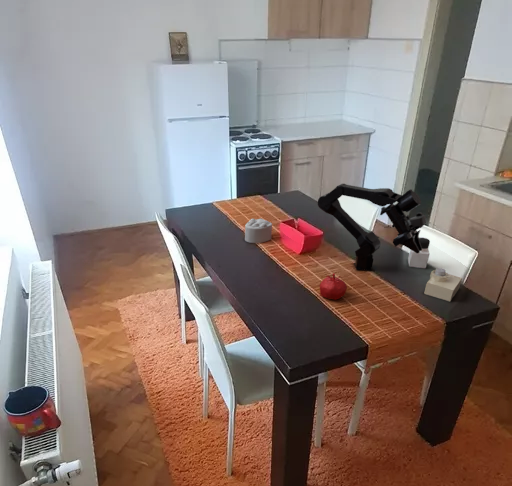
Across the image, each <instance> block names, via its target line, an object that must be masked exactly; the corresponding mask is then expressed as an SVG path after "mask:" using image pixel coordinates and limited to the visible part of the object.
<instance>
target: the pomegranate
mask: <svg viewBox="0 0 512 486" xmlns="http://www.w3.org/2000/svg"><path fill="white" fill-rule="evenodd" d="M331 275H332V276H330V275H325V278H323V279H322V280H321V282H320V283H319V294H320V295H321V297H323V298H325V299H329V300H335V301H336V300H339V299H341V298H343V297H344V296H345V294H346V292H347V289H348V285H347V283H346V282H345V281H344V280H343V279H340V276H337V277H336V273H333V272H332V274H331Z"/></svg>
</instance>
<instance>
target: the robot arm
mask: <svg viewBox="0 0 512 486" xmlns="http://www.w3.org/2000/svg"><path fill="white" fill-rule="evenodd" d="M342 196H345V197H349V198H355V199H359V200H365V201H368V202H370V203H371V204H374V205H376V206H379V207H380V209H381V210H380V213H379V215H380V216H383V215H384V214H386V216H387V217H388V219H389V220H390V222H391V223H392V225H391V227H392V228H395V230H396V231H397V236H395V237H394V238H393V240H392V244H393V245H394V247H398V246H399V245H400V246H404V247H406V248H407V249H409V250H410V249H411V250H412V251H414V252H416V253H419V252H420V251H421V250H422V247H421V244H420V240H419V237H420V233H421V228H423V227H424V226H425V225H426V224H427V220H426V219H427V216H426V215H425V214H424V213H423V212H417V213H416V215H415V216H413V217H411V216H410V215H408V214H407V215H406V214H405V213H409V212H410V211H412V210H414V209H415V208H417V207H418V206H420V205H422V200H421V198H420V195H419V194H417V192H415V191H413V189H412V188H410V189H408V190H407V191H406V192H405V193H404V194H399V193H397V192H395V191H393V190H392V189H391V188H389V187H388V188H387V187H385V188H384V187H383V188H381V187H379V188H367V187H362V186H358V185H357V186H356V185H351V184H346V183H339V184H338V185H337V186H335V187H334V188H333V189H332V190H331V191H330V192H327V193H325V194H323V195H321V196H319V198H318V199H317V207H318V208H319V209H320V210H322V211H323V212H324V213H326V214H328V215H331V216H333V217H334V219H336V221H337V222H338V223H340V225H341V226H343V228H345V230H346V231H347V232H348V233H349V234H350V235H351V236H352V237H353V238H354V239H355V241H356V242H357V245H358V247H359V248H357V249H356V250H355V251H354V253H355V254H354V255H355V260H354V263H353V266H354V268H355V270H356V271H370V272H371V271H372V268H373V264H374V255H373V254H374V253H375V252H376V251H378V249H380V247H381V240H380V239H379V238H380V236H378V235H376V234H375V232H374V231H373V230H371V231H370V232H367V231H366V230H364V228H362V227H361V226H360V224H359V223H358V222H357V221H355V220H354V218H352V216H350V214H349V213H348V212H347V211H345V210H344V209H343V207H342V205H341V202H340V200H339V199H340V198H341V197H342Z"/></svg>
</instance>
